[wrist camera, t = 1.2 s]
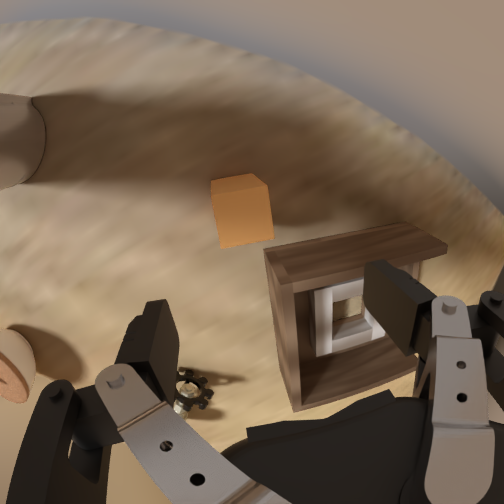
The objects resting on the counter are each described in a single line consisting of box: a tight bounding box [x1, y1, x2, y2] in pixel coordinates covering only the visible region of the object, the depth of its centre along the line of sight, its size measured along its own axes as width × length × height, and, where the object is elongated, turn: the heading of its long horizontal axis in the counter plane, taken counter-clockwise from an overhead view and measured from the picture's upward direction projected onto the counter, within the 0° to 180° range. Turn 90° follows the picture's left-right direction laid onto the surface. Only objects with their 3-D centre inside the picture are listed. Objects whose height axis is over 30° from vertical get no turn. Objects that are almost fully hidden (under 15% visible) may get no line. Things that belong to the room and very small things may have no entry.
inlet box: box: [263, 222, 448, 412], centre depth 31 cm, size 18×18×8 cm
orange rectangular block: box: [211, 173, 275, 249], centre depth 24 cm, size 4×4×8 cm
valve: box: [173, 370, 214, 421], centre depth 34 cm, size 7×7×12 cm
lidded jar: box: [0, 329, 36, 403], centre depth 26 cm, size 11×11×9 cm
